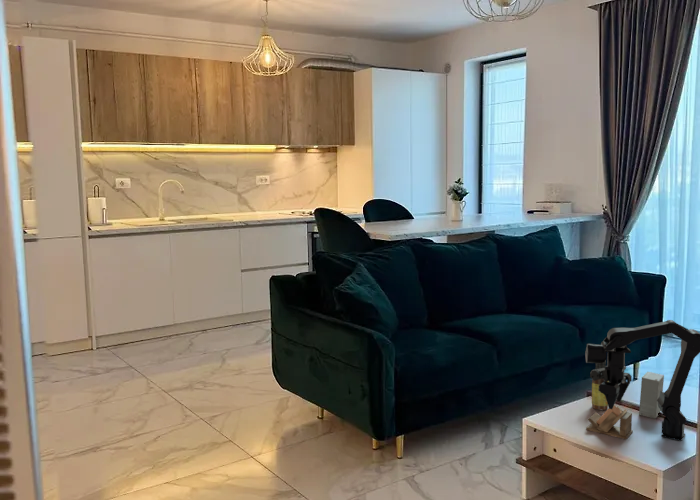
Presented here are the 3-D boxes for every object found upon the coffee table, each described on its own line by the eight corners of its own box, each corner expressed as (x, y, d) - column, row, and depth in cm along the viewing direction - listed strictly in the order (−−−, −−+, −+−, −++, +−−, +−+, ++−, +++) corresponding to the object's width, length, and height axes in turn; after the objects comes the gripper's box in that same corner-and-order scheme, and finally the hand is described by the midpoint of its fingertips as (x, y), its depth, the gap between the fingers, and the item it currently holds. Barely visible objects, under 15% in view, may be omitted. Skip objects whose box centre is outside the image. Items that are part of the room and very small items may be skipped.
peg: (622, 412, 232) (613, 404, 234) (618, 415, 229) (609, 407, 231) (608, 426, 236) (599, 418, 237) (605, 429, 233) (596, 421, 234)
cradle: (632, 432, 232) (633, 409, 231) (626, 439, 227) (627, 416, 226) (593, 423, 241) (593, 401, 240) (586, 429, 236) (586, 407, 235)
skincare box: (644, 408, 255) (645, 370, 253) (663, 412, 250) (665, 374, 248) (637, 415, 248) (639, 376, 246) (657, 419, 244) (659, 379, 242)
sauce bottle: (609, 411, 253) (610, 362, 250) (592, 410, 254) (594, 362, 252) (606, 405, 259) (607, 358, 257) (590, 404, 260) (591, 357, 258)
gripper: (601, 353, 242) (600, 393, 244) (584, 366, 228) (583, 407, 230) (632, 358, 235) (631, 399, 237) (616, 371, 221) (615, 414, 223)
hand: (614, 405), depth 232 cm, fingers open, 9 cm apart
